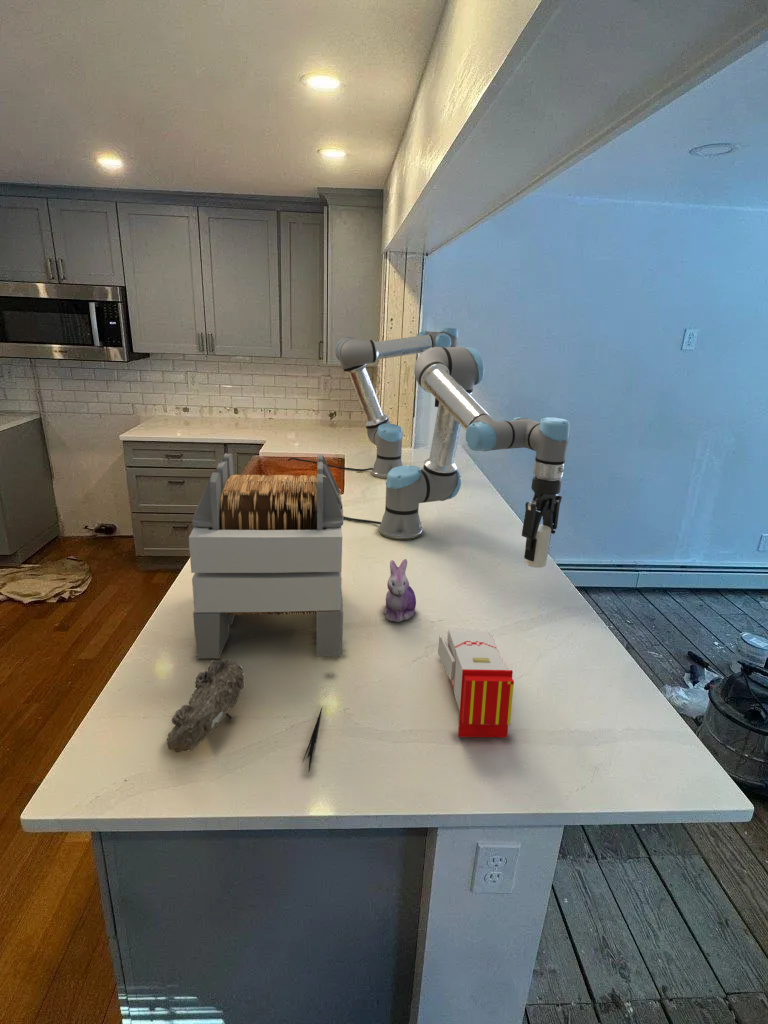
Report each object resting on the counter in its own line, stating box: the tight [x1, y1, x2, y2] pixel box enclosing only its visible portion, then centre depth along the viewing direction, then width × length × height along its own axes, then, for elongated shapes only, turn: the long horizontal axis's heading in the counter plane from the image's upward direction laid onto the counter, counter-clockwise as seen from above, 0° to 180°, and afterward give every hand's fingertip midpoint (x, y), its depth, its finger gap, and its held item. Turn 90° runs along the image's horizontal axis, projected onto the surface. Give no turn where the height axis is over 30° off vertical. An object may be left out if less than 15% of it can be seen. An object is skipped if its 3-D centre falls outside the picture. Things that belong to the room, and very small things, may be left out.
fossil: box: [166, 658, 245, 754], centre depth 106 cm, size 22×10×15 cm
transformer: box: [188, 452, 345, 660], centre depth 135 cm, size 34×33×41 cm
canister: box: [524, 523, 552, 569], centre depth 157 cm, size 6×6×11 cm
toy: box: [437, 628, 515, 738], centre depth 117 cm, size 12×13×30 cm
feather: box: [301, 673, 332, 771], centre depth 108 cm, size 2×28×2 cm
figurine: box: [384, 558, 417, 623], centre depth 145 cm, size 9×10×15 cm
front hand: (535, 556), depth 158 cm, fingers closed on canister, 6 cm apart
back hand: (444, 405), depth 281 cm, fingers open, 13 cm apart
